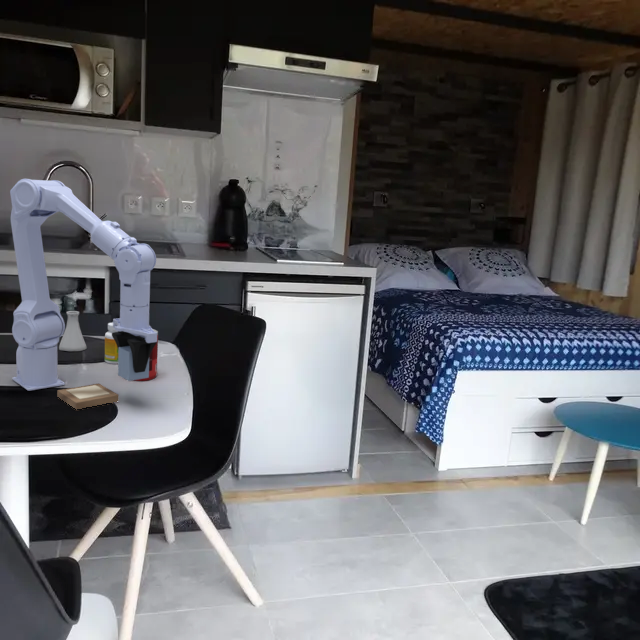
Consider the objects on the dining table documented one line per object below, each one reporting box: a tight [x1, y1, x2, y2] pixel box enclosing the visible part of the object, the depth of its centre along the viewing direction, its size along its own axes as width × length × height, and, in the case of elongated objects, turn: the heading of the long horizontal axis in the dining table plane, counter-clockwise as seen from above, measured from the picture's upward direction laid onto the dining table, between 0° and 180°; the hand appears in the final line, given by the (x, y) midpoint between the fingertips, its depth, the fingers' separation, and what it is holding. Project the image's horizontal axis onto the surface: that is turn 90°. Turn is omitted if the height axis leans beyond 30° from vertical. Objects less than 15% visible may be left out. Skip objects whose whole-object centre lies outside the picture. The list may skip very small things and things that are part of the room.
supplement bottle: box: [104, 321, 119, 365], centre depth 159 cm, size 5×5×10 cm
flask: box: [58, 310, 88, 352], centre depth 167 cm, size 7×7×10 cm
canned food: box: [132, 328, 159, 382], centre depth 149 cm, size 8×8×11 cm
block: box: [117, 346, 149, 382], centre depth 131 cm, size 4×4×6 cm
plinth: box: [56, 383, 120, 411], centre depth 132 cm, size 9×9×2 cm
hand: (133, 368), depth 131 cm, fingers closed on block, 4 cm apart
